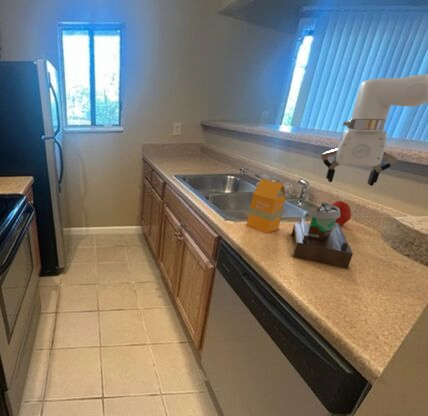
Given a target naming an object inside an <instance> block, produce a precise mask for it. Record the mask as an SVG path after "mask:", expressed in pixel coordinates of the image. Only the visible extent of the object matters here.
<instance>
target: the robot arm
mask: <svg viewBox="0 0 428 416" xmlns="http://www.w3.org/2000/svg"><path fill="white" fill-rule="evenodd" d="M424 104H428V73H426V74H424V73H423V74H416V75H414V74H413V75H408V76H403V77H395V78H394V77H382V78H370V79H366V80H364V81H363V82H361V84H360V85H359V89H358V92H357V95H356V99H355V103H354V107H353V111H352V114H351V117H350V119H349V120H346V121H343V123H342V127H346V128H347V129H345V130H344V132H343V133H342V135H341V136H340V137H341V138H340V139H339V142H338V145H337V148H335V149H331V150H329V151H326V152H323V153H321V154H320V157H321V160H322V162H323V164H324V165H325V166H326V167H327V168H328V169H327V172H326V176H325V179H326V180H327V181H328V183H332V182H333V179H334V176H335V174H336V169H335V168H337V167H338V166H339V165H344V166H357V167H358V166H359V167H371V168H372V170H371V171H370V173H369V176H368V180H367V185H369V186H371V187H372V186H374V185H375V183H377V182H378V179H379V176H380V173H382V172H384V171H385V170H388V169H389V168H391V166H392V165H394V164H395V163H396V162H397V161H398V157H397V156H394V155H393V154H390V153H388V152H386V151H385V148H386V145H387V144H386V143H387V136H388V135H387V134H388V131H387V130H384V129H385V126H386V122H387V119H388V116H389V114H390V109H391V107H392V106H398V107H411V108H412V107H417V106H418V107H419V106H422V105H424ZM330 156H334V157H333V158H334V159H333V161H331V162H330V161H329V159H328V158H329V157H330ZM383 158H385V159H387V161H386V162H384V163H382V160H383ZM381 163H382V164H381Z"/></svg>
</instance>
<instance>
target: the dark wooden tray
mask: <svg viewBox="0 0 428 416" xmlns="http://www.w3.org/2000/svg"><path fill="white" fill-rule="evenodd" d="M310 224H311V223H310ZM310 224H309V223H307V220H306V218H305V217H300V221H299V222H298V221H294V222H293V227H292V231H291V237H294V239H295V247H294V249H293V254H292V257H293V258H296V259H300V260H305V261H310V262H314V263H318V264H324V265H328V266H332V267H336V268H341V269H346V270H348V268H349V266H350V264H351V261H352V258H353V255H354V253H353V250H352V248H351V246H350V244H349V242H348V239H347V237H346V235H345V233H344V231H343V229H342V227H341V226H340V225H339V223H335V224H334V226H333V228H332V231H331V233H330V235H329V238H328V239H324V240H319V239H311V238H309V235H308V232H309V228H310Z"/></svg>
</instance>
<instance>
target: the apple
mask: <svg viewBox="0 0 428 416" xmlns="http://www.w3.org/2000/svg"><path fill="white" fill-rule="evenodd" d="M330 204H331V205H334V206H336V207H338V208H339V209H340V217H339V218H337V219H336V221H335V223H339V225H340V227H341V226H343V225H345V224H346V223H347V222H349V221H350V219H351V218H352V210H351V207H350V205H349V204H348V203H347V202H346V201H343V200H337V201H334V202H332V203H330ZM335 223H334V224H335Z"/></svg>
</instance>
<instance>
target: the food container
mask: <svg viewBox="0 0 428 416" xmlns="http://www.w3.org/2000/svg"><path fill="white" fill-rule="evenodd" d="M331 204H332V203H327V202H323V201H322V202H321V205H320V206H319V207H317V209H316V210H313V213H312V217H311V222H310V228H309V232H308V235H309V238H311V239H319V240H324V239H328V238H329V235H330V233H331V231H332V228H333V227H334V223H335V221H336V219H337V218H339V217H340V209H339V208H338V207H336V206H334V205H331Z"/></svg>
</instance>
